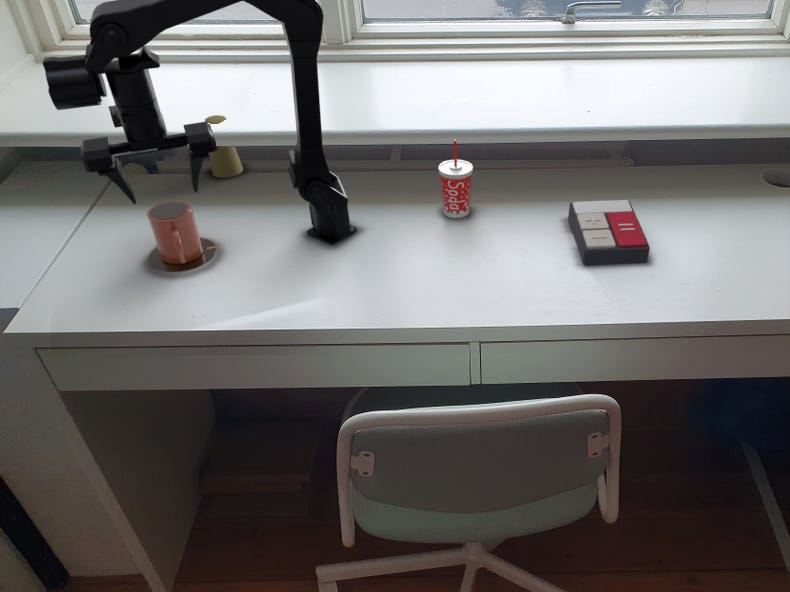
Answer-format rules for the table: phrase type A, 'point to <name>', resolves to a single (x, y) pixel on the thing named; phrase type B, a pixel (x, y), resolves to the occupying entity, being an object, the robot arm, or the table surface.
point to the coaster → (161, 265)
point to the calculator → (607, 232)
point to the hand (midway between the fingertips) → (165, 197)
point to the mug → (175, 231)
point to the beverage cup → (456, 185)
